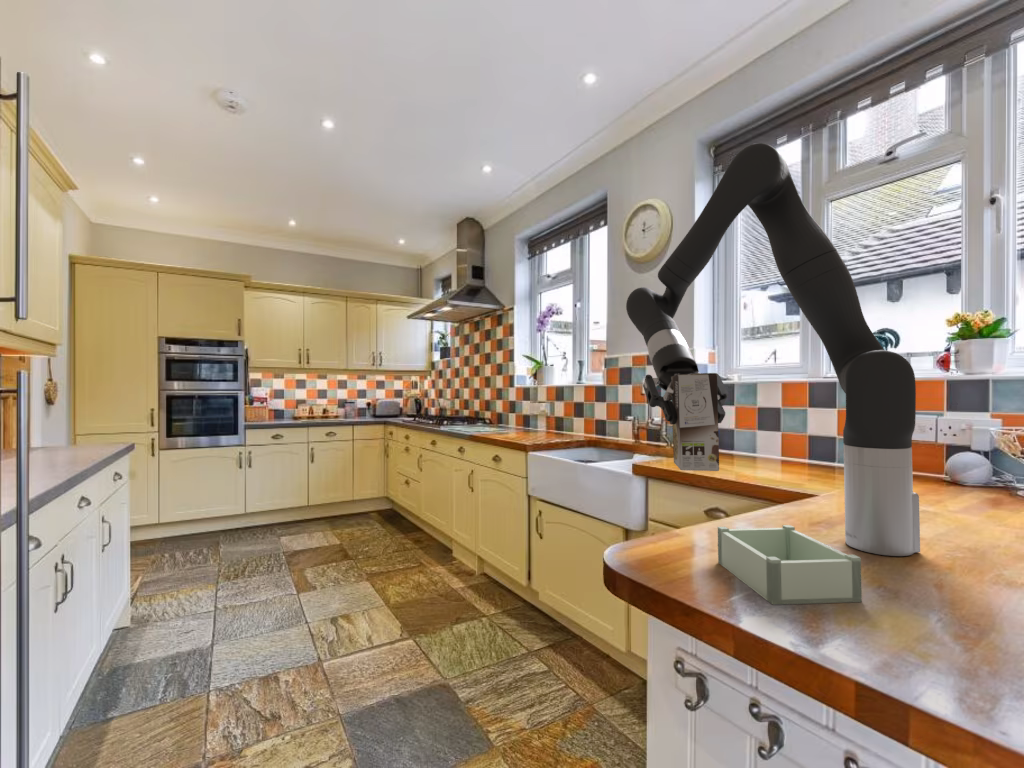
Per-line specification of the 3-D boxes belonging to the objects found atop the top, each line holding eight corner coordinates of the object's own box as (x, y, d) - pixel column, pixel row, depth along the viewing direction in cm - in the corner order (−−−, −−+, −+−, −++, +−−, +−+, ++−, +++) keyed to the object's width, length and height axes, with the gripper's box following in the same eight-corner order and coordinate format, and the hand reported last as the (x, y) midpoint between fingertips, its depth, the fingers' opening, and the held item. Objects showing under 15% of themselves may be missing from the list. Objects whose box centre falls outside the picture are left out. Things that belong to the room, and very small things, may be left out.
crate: (790, 560, 75) (789, 525, 75) (861, 601, 61) (860, 557, 61) (718, 562, 75) (717, 526, 75) (772, 604, 60) (771, 560, 60)
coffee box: (721, 471, 78) (718, 372, 78) (679, 471, 79) (677, 373, 79) (709, 462, 87) (707, 373, 87) (672, 462, 88) (670, 375, 88)
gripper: (638, 343, 90) (661, 406, 79) (712, 341, 91) (746, 404, 79) (631, 372, 95) (651, 436, 84) (701, 370, 96) (731, 433, 84)
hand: (697, 420), depth 81 cm, fingers closed on coffee box, 7 cm apart
